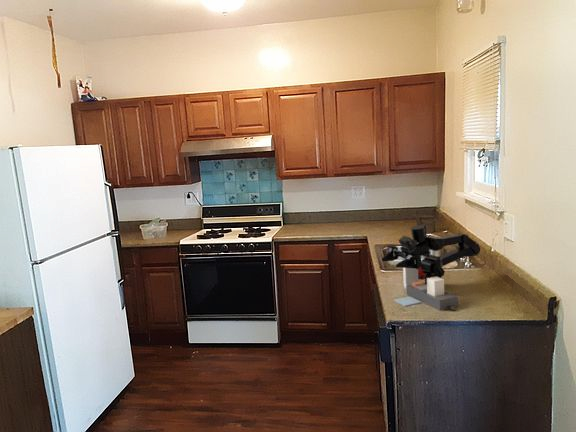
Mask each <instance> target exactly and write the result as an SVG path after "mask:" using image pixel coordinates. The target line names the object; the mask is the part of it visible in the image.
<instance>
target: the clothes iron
mask: <svg viewBox="0 0 576 432" xmlns="http://www.w3.org/2000/svg"><path fill="white" fill-rule="evenodd" d="M411 216H412V220H416V226H421V225H425V226H426V234H427V233H428V232H430V233H428V234H432V233H434V232H435V231H436V221H435V215H426V214H425V215H423V214H420V215H418V214H416V213H412V215H411ZM422 219H432V222H423V221H422Z"/></svg>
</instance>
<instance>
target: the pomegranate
mask: <svg viewBox="0 0 576 432" xmlns="http://www.w3.org/2000/svg"><path fill="white" fill-rule="evenodd" d="M424 277H426V274H425V273H423V272H422V269H421V268H419V269H418V279H421V278H424Z"/></svg>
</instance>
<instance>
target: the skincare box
mask: <svg viewBox="0 0 576 432" xmlns="http://www.w3.org/2000/svg"><path fill="white" fill-rule="evenodd" d="M402 274H403V278H402V279H403V287H404V288H405V289H406V290H407V287H406V286H407V285H412V283H414V282H419V278H418V269H413V268H402Z"/></svg>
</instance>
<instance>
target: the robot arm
mask: <svg viewBox="0 0 576 432" xmlns="http://www.w3.org/2000/svg"><path fill="white" fill-rule="evenodd" d="M410 231H411V236H412V238H411V237H409V236H406V235H402V236H401V237H400V238H399V239H398V243H400V246H401V247H400V250H399V247H398V246H396V245H393V244H389V245H387V246H386V247H387V249H386V250H387V253H386V254H384V256H383V257H382V258H381V261H382V262H391V261H392V262H394V261H395V260H398V259H399V257H400V258H401V259H402V261H400V262H398V263H397V264H395V267H396V268H402V269H403V268H413V269H419V268H421V269H422V272H423V273H425V274H426V275H425V278H424V283H426V284H427V278H431V277H439V278H442V277H443V276H444V275H445V272H446V271H445V269H443V267H444V266H446V265H448V264H451V263H453V262H455V261H457V260H461V259H462V258H464V257H474V256H478V255H479V254H480V252H481V247H480V245H479V243H478V242H476V241H474V240H473V239H472V238H471V237H469V235H467V234H466V233H462V232H461V233H460V232H459V233H456V234H450V235H446V236H445V235H444V236H427V233H426V226H425V225H421V226H417V225H414V226H411V227H410ZM452 245H457V246H458V248H456V249H453V250H450V251H449V252H446V253H444V254H441V255H439V256H437V255H433V254H431V251H432V252H433V251H434V252H438V251H440V250H443V249H444V247H448V246H452ZM422 257H423V259H422Z"/></svg>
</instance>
